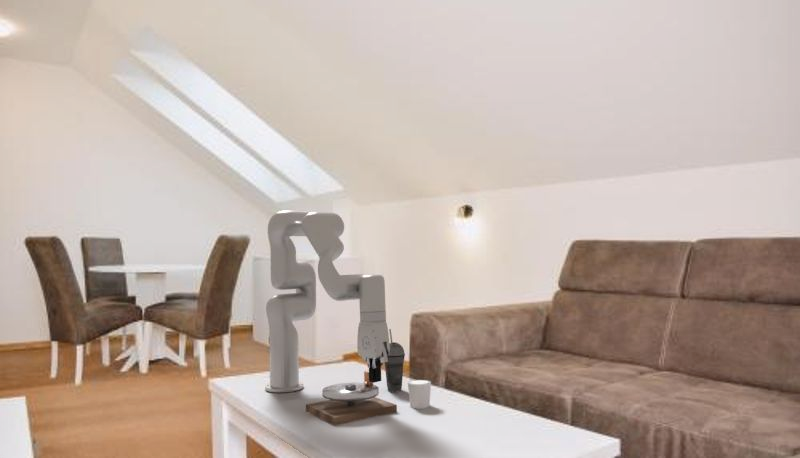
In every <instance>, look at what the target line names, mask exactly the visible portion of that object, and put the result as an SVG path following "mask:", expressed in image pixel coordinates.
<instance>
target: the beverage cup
mask: <svg viewBox="0 0 800 458" xmlns="http://www.w3.org/2000/svg"><path fill="white" fill-rule="evenodd" d="M391 330H392V328H388V332H389V340H390V342H389V344H390V353H389V356H387V359H388V361H387V362H384V368H385V369H384V370H385V379H386V387H387V392H390V393H399V392H401V391H402V389H403V388H402V387H403V372H404V361H405V356H406V354H405V349H404V347H403V346H402V345H401V344H400V343H398V342H393V336H392V331H391Z"/></svg>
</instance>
